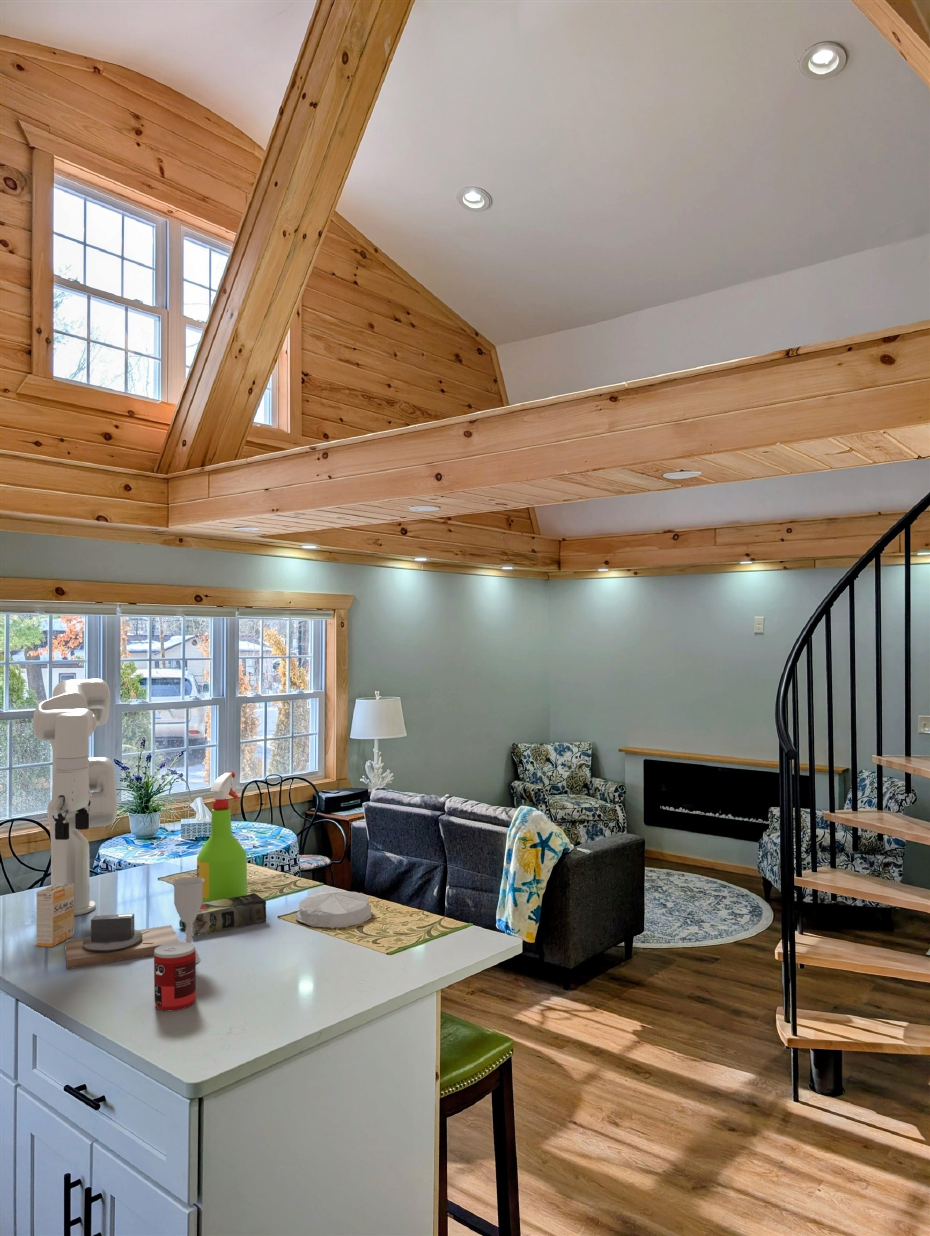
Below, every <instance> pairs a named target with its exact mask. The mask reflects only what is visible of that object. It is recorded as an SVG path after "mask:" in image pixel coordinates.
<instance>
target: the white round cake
mask: <svg viewBox="0 0 930 1236" xmlns="http://www.w3.org/2000/svg"><path fill="white" fill-rule="evenodd" d="M298 909H299V911H297V912H296V914H295V919H296V920H297V921H298V922H300V923H303V924H305V925H308V926H311V927H312V928H315V927H316V928H319V927H320V928H321V927H322V928H331V929H334V928H347V927H350V926H355V925H359V924H360V925H361V924H363V923H365V922H367V921H368V920H369V919H371V918H372V916H373V915H372V904H370V900H369V898H368V897H367V896H366V895H365V894H363V893H360V892H357V891H345V890H343V891H342V890H339V891H338V890H332V891H323V892H318V893H314V894H311V895H309V896H306V897H304V898H303V899H301V900H300V901H299V902H298Z"/></svg>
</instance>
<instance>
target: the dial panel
mask: <svg viewBox="0 0 930 1236" xmlns="http://www.w3.org/2000/svg"><path fill="white" fill-rule="evenodd" d="M137 930H138V931H140V932H142V941H141V942H140V943H138V944H137V945H135V946H132V947H130V948H127V949H123V950H118V951H112V952H90V951H87V950H85V949H84V948H83V941H84V939H86V938H87V937H85V938H78V939H72V940H66V941H65V959H66V970H69V969H70V970H71V969H76V968H77V969H78V968H83V967H89V966H95V965H100V964H107V963H112V962H113V963H114V962H120V961H126V960H131V959H137V958H144V957H148V956H149V955H150V956H154V950H155V949H156V948H157V947H159V946H161V945H164V944H167V943H173V942H180V941H179V939H178V936H177V935H176V932H175V929H174V928H173V925H170V924H169V925H164V926H156V927H151V928H150V927H149V928H144V929H137ZM143 956H144V957H143ZM150 956H149V957H150Z"/></svg>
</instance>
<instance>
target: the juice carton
mask: <svg viewBox="0 0 930 1236" xmlns="http://www.w3.org/2000/svg"><path fill="white" fill-rule="evenodd" d="M266 921H267V900H265V899H264V898H262V897H261V896H259V894H257V893H254V892H253V893H249V894H247V895H245V896H239V897H232V898H227V899H221V900H216V901H211V902H205V903H202V904H201V907H200V910H199V912H198V914H197V917H196V919H195V921H193V922H191V929H192V932H191V937H194V936H195V935H196V936H199V935H198V934H201V935H206V934H205V933H208V934H211V933H210V932H212V933H215V931H216V932H221V931H220V930H222V931H226V929H227V930H232V929H237V928H242V927H247V926H253V925H259V924H263V923H266ZM178 925H179V928H182V929H184V930H186V927H187V926H186V923H185V922H182V920H181V919H179V924H178ZM196 936H195V937H196Z"/></svg>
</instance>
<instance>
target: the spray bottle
mask: <svg viewBox="0 0 930 1236" xmlns="http://www.w3.org/2000/svg"><path fill="white" fill-rule="evenodd" d="M235 778H236V773H235V772H234V771H231V770H230V771H227V772H224V773H223V774H222V775H220V776H218V777H217V778H216V779H215V780H214V782H213V784H212V786H211V788H210V791H209V792H211V793H213V806H212V807H213V808H212V809H211V818H210V819H211V820H210V821H211V824H210V825H211V828H210V829H211V830H210V835H211V836H210V837H209V838H208V839H207V841H206V842H205V843H204V844H203V845H202V848H201V850H200V851H199V853H198V855H197V857H196V877H199V878H203V879H204V882H203V884H202V903H205V902H211V901H216V900H221V899H227V898H232V897H239V896H245V895H248V867H247V866H248V858H247V857H248V855H247V852H246V851H245V848H244V847H243V845H242V844H241V843H240V841H239V840H238V839H237V838H236V837H235V836H234V835H233V833H232V815H231V814H232V813H231V811H232V810H231V807H229V800H228V799H227V798H228V797H229V796H230V797H231V798H233V799H238V800H239V799H240V796H239V795H238V794H237V792H236V791H234V790H233V783H234V779H235Z"/></svg>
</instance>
